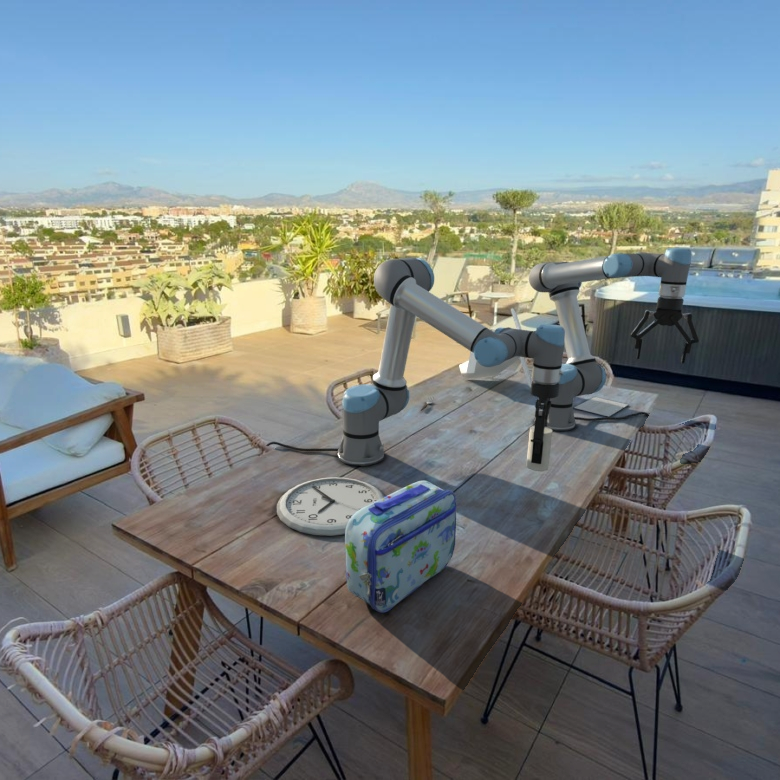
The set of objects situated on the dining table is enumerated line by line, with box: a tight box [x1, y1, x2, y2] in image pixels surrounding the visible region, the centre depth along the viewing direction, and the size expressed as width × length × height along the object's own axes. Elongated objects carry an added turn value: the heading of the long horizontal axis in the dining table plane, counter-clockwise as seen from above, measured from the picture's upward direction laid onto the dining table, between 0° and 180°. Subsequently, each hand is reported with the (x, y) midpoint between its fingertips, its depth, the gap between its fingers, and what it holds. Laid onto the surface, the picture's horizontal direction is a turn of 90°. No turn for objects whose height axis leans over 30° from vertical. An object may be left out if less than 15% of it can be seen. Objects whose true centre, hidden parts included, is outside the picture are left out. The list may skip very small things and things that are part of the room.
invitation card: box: [573, 396, 629, 417], centre depth 226 cm, size 21×1×15 cm
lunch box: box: [344, 480, 457, 614], centre depth 109 cm, size 26×11×21 cm, turn 135°
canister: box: [525, 425, 553, 472], centre depth 150 cm, size 6×6×12 cm
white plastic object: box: [458, 307, 534, 389], centre depth 255 cm, size 37×45×31 cm
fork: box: [420, 396, 435, 411], centre depth 223 cm, size 3×16×2 cm, turn 160°
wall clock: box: [276, 476, 386, 537], centre depth 142 cm, size 30×2×30 cm
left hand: (537, 458), depth 151 cm, fingers closed on canister, 6 cm apart
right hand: (659, 360), depth 177 cm, fingers open, 13 cm apart
